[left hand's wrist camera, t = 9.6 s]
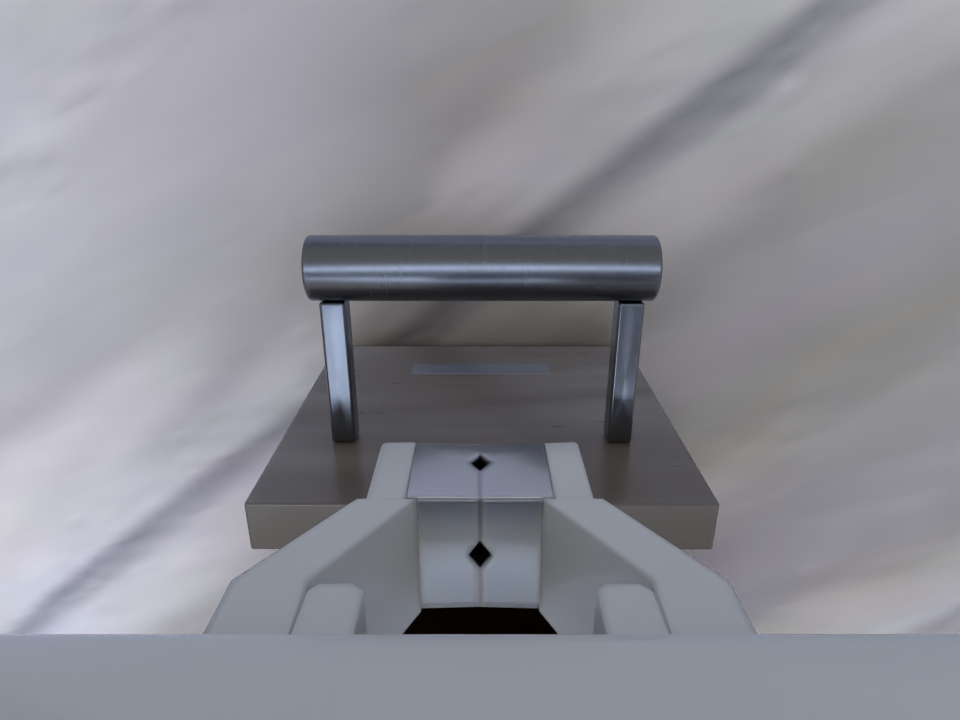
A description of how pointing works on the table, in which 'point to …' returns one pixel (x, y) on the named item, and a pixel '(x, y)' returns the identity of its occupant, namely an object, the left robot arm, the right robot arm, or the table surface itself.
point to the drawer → (482, 389)
